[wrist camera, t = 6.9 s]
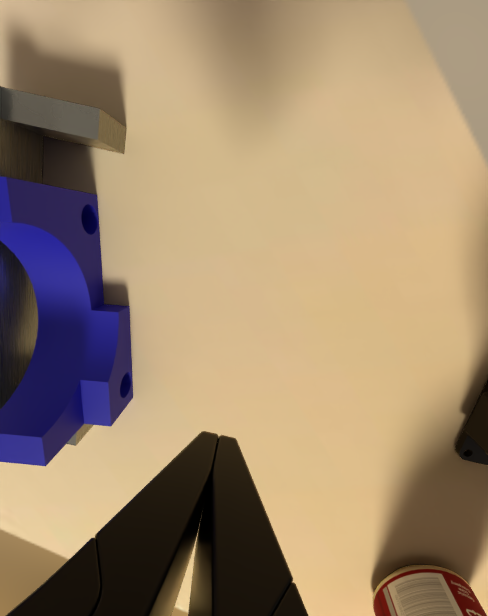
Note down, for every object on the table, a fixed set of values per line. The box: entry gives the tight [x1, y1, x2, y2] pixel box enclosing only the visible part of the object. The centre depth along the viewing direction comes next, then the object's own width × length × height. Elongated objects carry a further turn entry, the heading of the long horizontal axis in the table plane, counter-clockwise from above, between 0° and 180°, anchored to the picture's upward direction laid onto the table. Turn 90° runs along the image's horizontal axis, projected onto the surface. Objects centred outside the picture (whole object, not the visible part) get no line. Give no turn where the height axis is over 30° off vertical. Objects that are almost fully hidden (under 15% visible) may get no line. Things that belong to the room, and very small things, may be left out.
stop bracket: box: [0, 86, 126, 446], centre depth 16 cm, size 5×17×3 cm, turn 168°
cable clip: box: [0, 177, 133, 466], centre depth 15 cm, size 12×4×6 cm, turn 177°
